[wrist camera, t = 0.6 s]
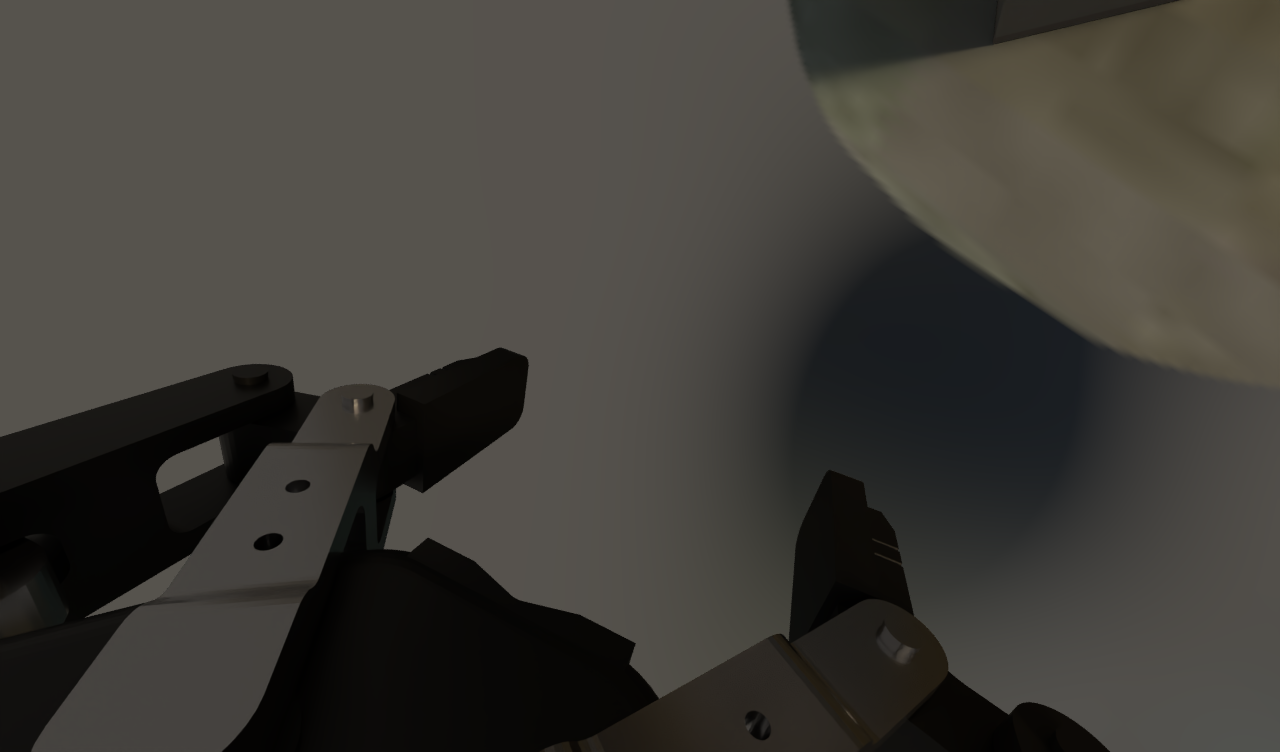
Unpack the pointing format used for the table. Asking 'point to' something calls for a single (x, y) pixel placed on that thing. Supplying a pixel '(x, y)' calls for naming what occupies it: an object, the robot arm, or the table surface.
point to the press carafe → (1056, 14)
